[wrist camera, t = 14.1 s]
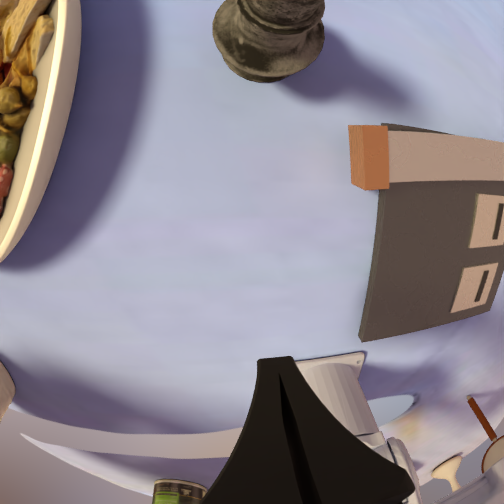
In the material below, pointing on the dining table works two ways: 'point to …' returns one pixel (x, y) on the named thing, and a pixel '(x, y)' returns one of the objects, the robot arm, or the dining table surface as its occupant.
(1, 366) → the lamp
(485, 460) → the magnifying glass
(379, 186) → the swing arm
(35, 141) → the bowl
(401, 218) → the label panel
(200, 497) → the coffee can
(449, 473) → the flower in vase
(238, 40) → the grey tall carved piece
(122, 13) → the dining table surface
